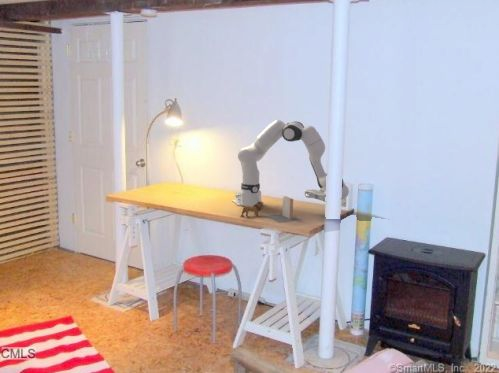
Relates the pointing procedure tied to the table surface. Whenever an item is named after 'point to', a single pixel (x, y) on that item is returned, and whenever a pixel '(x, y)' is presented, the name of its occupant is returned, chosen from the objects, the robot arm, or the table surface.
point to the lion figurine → (253, 209)
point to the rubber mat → (282, 218)
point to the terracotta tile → (288, 207)
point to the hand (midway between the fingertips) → (307, 196)
